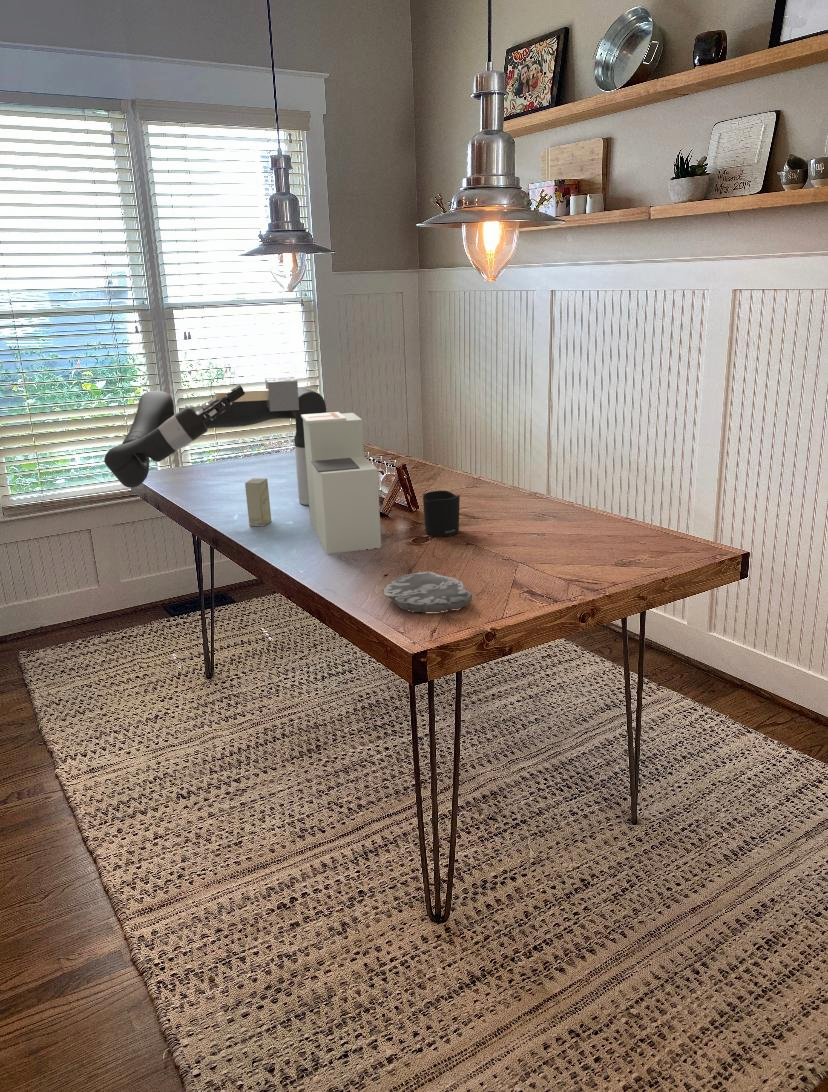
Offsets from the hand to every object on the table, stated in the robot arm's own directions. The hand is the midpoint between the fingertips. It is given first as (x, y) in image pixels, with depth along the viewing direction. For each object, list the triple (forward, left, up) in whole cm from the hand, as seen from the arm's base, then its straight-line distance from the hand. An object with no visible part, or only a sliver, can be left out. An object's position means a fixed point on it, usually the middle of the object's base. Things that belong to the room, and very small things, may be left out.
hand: (242, 389), depth 207 cm
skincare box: (-13, -10, -39) cm, 43 cm away
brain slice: (+18, +60, -39) cm, 74 cm away
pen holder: (-26, +40, -39) cm, 62 cm away
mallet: (-2, +2, -5) cm, 6 cm away
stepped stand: (-13, +18, -39) cm, 45 cm away
